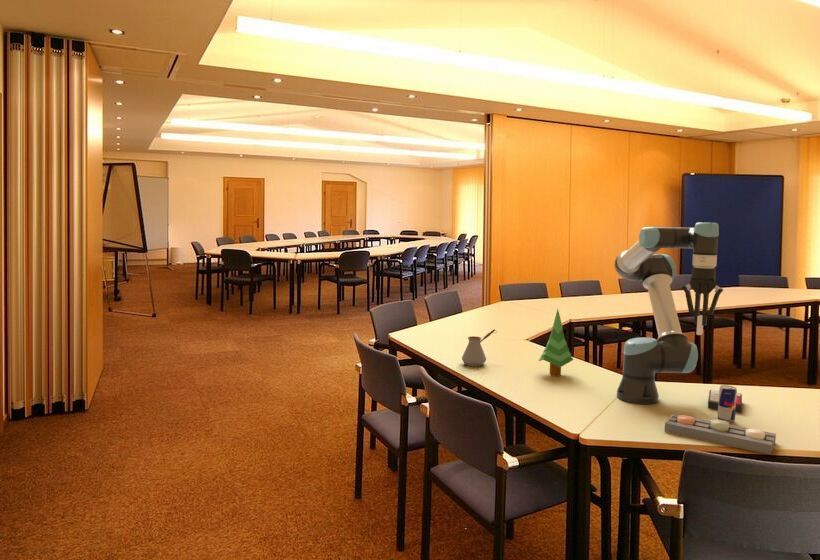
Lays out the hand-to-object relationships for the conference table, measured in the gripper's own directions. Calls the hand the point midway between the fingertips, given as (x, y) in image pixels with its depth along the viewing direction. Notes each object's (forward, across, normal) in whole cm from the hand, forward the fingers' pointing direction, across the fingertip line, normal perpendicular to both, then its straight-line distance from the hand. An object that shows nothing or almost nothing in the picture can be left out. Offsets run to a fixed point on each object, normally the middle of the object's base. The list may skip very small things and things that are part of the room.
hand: (699, 334), depth 209 cm
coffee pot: (+30, -98, +18) cm, 104 cm away
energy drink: (+30, +10, +1) cm, 31 cm away
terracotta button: (+28, +1, -18) cm, 33 cm away
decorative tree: (+30, -61, +20) cm, 71 cm away
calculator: (+30, +6, +21) cm, 37 cm away
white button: (+28, +21, -18) cm, 39 cm away
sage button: (+27, +11, -18) cm, 35 cm away
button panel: (+29, +11, -18) cm, 36 cm away
